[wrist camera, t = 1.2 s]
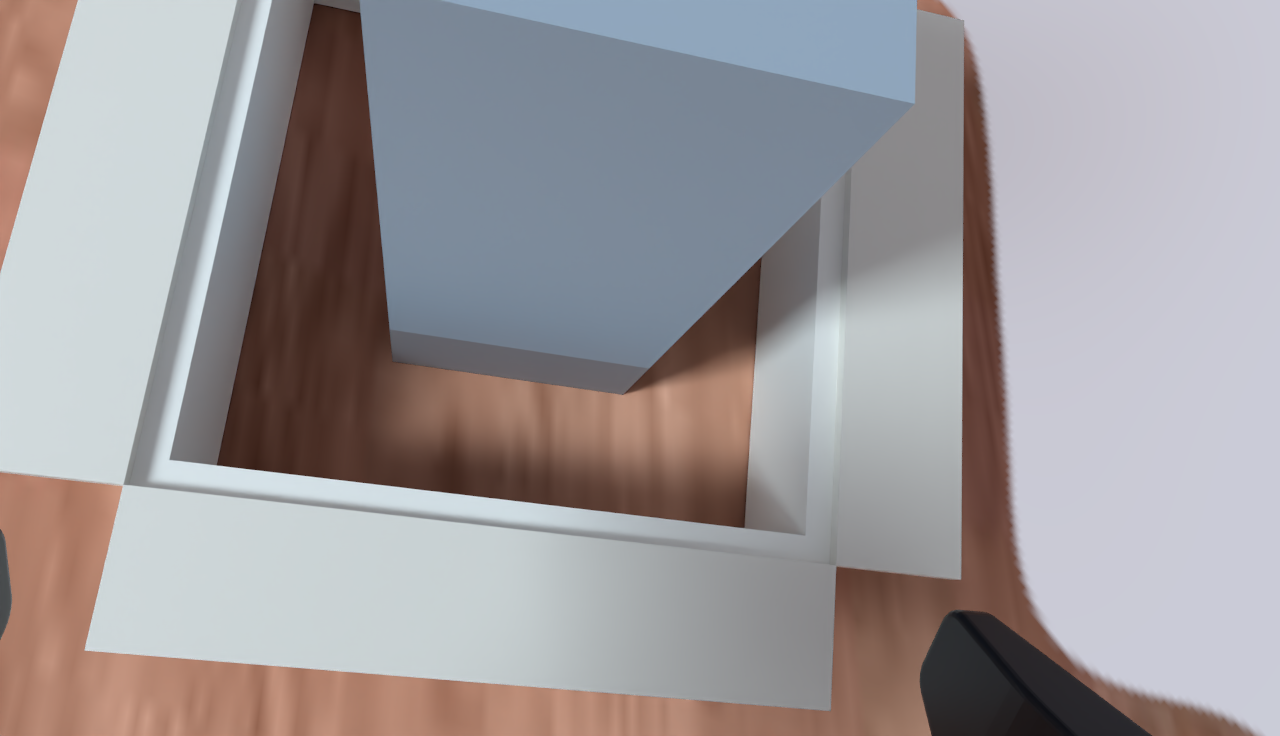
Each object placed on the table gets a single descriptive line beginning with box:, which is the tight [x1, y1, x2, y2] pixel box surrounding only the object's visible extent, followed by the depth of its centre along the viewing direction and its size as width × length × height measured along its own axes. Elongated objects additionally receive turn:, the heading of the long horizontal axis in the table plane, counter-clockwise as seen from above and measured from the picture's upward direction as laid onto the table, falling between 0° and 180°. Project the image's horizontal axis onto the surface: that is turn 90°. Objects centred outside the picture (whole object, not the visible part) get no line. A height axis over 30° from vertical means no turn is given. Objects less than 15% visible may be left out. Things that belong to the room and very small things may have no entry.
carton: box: [0, 0, 964, 711], centre depth 19 cm, size 14×17×4 cm
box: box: [359, 0, 917, 395], centre depth 15 cm, size 5×5×13 cm
